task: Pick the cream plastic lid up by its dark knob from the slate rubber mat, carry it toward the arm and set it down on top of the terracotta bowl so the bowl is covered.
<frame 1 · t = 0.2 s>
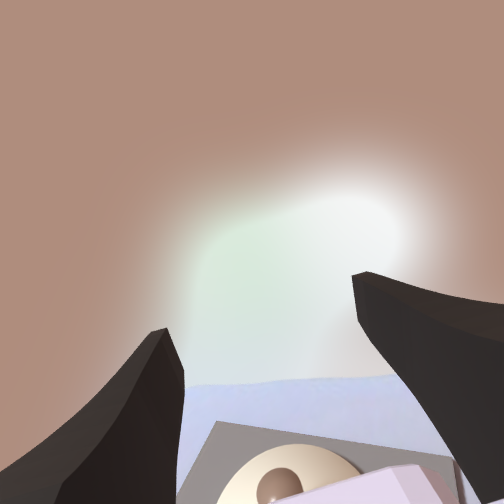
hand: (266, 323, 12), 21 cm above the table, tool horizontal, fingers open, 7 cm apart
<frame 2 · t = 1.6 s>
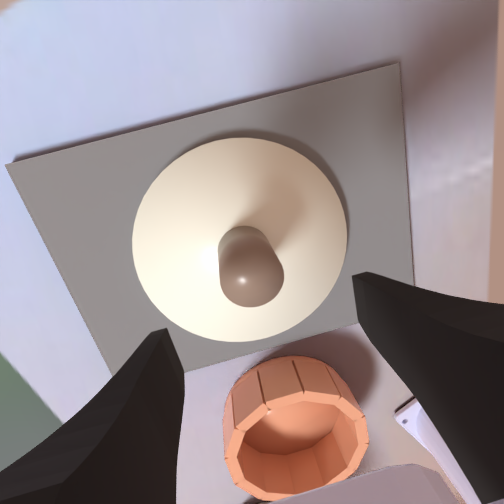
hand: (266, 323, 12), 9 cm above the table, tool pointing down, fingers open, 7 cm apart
mat: (241, 244, 21), on the table
lid: (242, 246, 21), point 1 cm above the table, touching mat
bowl: (286, 406, 26), on the table
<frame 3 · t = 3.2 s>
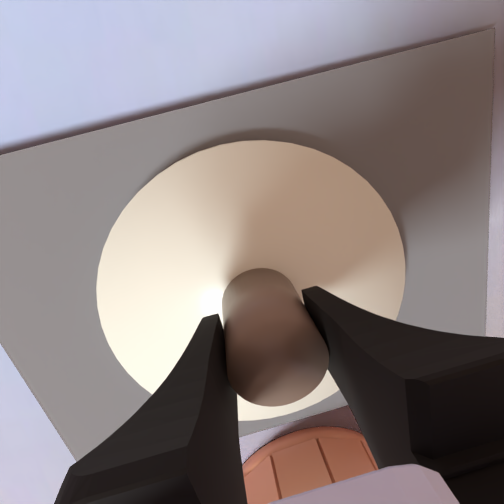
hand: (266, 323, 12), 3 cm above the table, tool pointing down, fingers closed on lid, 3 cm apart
mat: (255, 288, 15), on the table
lid: (256, 294, 15), point 1 cm above the table, touching gripper, mat
bowl: (309, 486, 20), on the table
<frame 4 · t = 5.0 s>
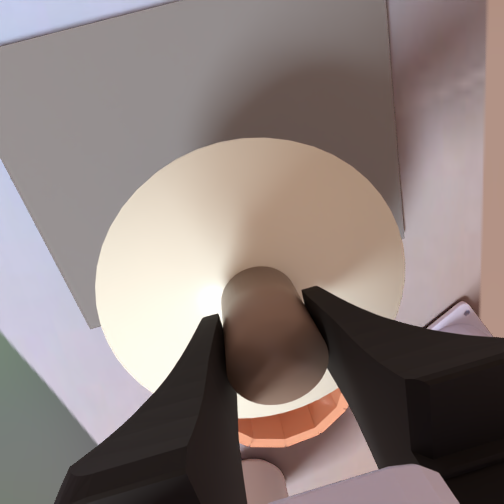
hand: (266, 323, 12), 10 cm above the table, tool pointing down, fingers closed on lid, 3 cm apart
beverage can: (247, 476, 30), on the table
mat: (216, 163, 20), on the table
lid: (256, 292, 14), point 7 cm above the table, touching gripper
bowl: (270, 352, 25), on the table
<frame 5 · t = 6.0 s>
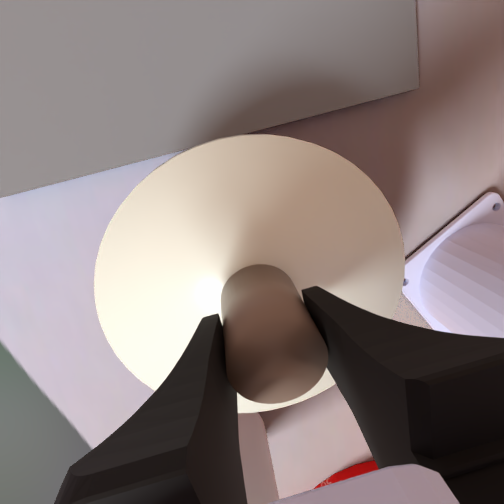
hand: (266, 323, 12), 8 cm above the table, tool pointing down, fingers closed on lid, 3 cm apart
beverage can: (220, 423, 24), on the table
lid: (255, 289, 14), point 5 cm above the table, touching gripper
when the fingers open (8 cm above the table, at t = 6.7 s): lid drops 1 cm, point 4 cm above the table.
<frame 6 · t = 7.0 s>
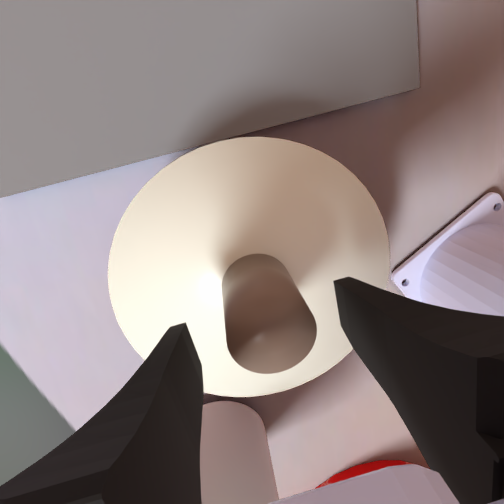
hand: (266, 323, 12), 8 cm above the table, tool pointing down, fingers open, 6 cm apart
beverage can: (220, 424, 24), on the table
lid: (253, 278, 16), point 4 cm above the table
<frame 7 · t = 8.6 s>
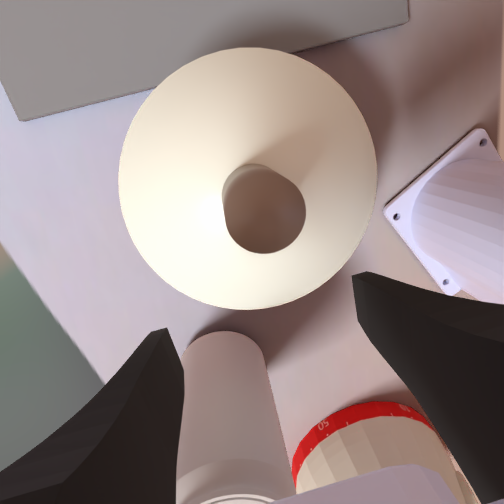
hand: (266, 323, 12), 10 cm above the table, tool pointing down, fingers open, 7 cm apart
kitchen timer: (361, 455, 31), on the table
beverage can: (222, 358, 25), on the table
lid: (251, 193, 17), point 4 cm above the table
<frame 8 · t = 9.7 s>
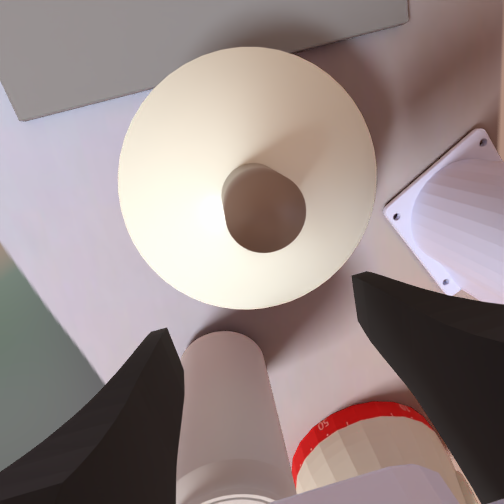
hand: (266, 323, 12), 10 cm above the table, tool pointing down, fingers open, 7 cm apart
kitchen timer: (361, 455, 31), on the table
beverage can: (222, 358, 25), on the table
lid: (251, 193, 17), point 4 cm above the table, touching bowl
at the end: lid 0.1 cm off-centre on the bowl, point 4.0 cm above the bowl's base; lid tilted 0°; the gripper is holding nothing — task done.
